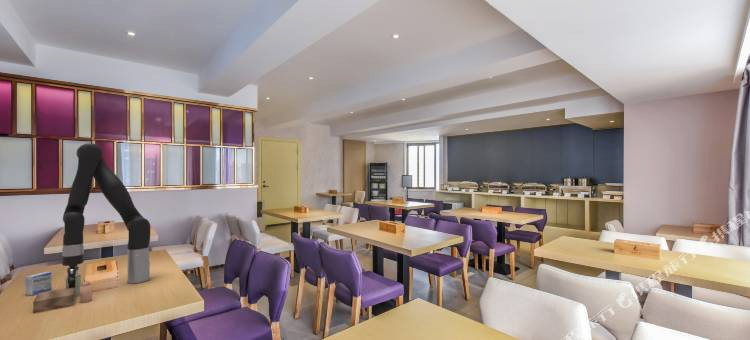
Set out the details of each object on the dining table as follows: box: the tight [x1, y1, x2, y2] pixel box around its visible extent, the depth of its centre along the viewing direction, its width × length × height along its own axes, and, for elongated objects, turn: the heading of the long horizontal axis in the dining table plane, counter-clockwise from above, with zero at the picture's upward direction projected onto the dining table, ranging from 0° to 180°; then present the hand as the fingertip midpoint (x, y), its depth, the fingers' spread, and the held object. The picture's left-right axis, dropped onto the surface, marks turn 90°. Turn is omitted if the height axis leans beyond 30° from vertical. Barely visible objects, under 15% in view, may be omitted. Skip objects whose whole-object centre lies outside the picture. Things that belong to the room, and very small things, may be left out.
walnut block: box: [32, 287, 76, 314], centre depth 143 cm, size 12×12×5 cm
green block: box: [65, 274, 82, 296], centre depth 155 cm, size 5×5×8 cm
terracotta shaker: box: [79, 280, 93, 304], centre depth 147 cm, size 4×4×9 cm
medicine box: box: [24, 271, 52, 296], centre depth 157 cm, size 8×4×9 cm, turn 168°
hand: (72, 288), depth 155 cm, fingers open, 8 cm apart
